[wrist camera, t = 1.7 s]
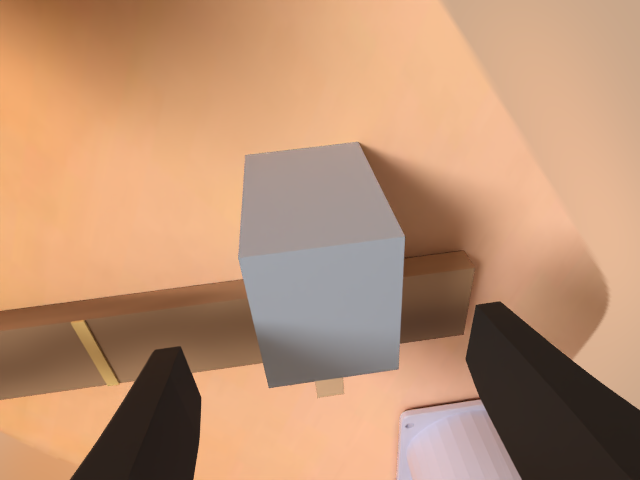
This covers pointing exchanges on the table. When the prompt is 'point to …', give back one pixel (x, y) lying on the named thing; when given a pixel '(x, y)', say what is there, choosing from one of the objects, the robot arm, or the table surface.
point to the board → (190, 328)
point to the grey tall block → (321, 266)
